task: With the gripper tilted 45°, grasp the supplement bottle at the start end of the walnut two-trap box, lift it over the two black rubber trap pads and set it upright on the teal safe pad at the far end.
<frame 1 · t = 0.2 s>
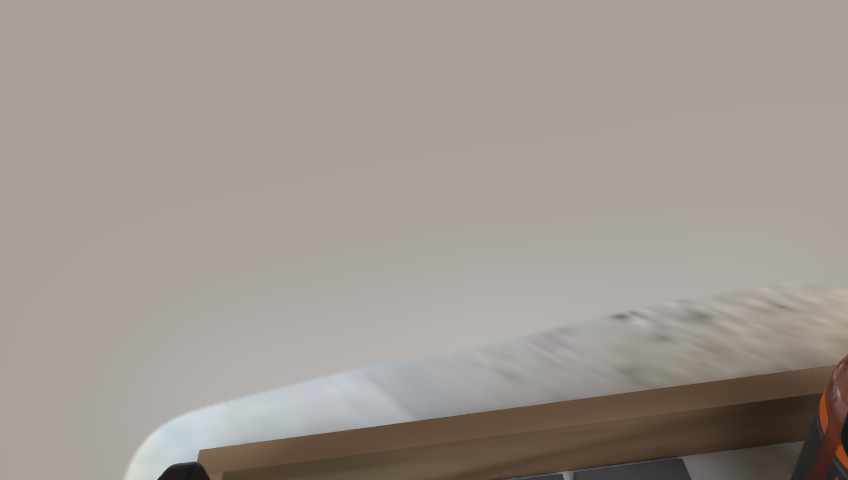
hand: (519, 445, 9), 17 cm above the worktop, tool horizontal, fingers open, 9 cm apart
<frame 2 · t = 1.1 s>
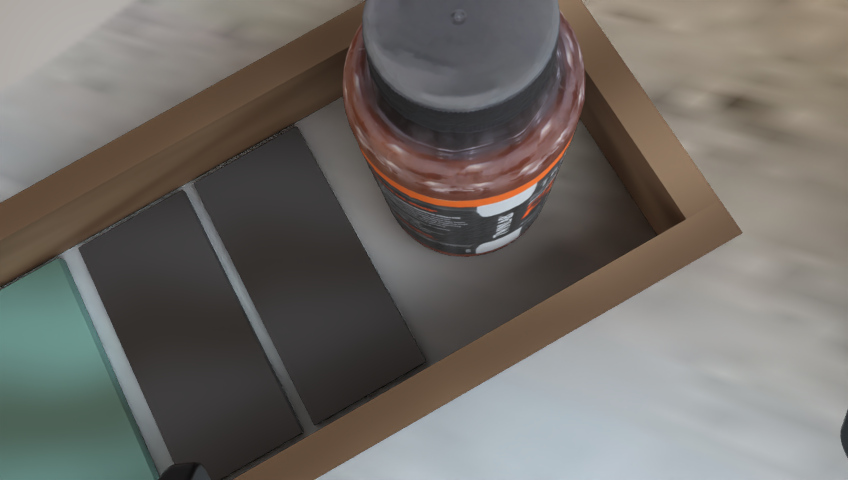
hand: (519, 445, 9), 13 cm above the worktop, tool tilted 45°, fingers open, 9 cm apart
supplement bottle: (466, 181, 24), resting in two trap box
two trap box: (251, 301, 23), on the worktop
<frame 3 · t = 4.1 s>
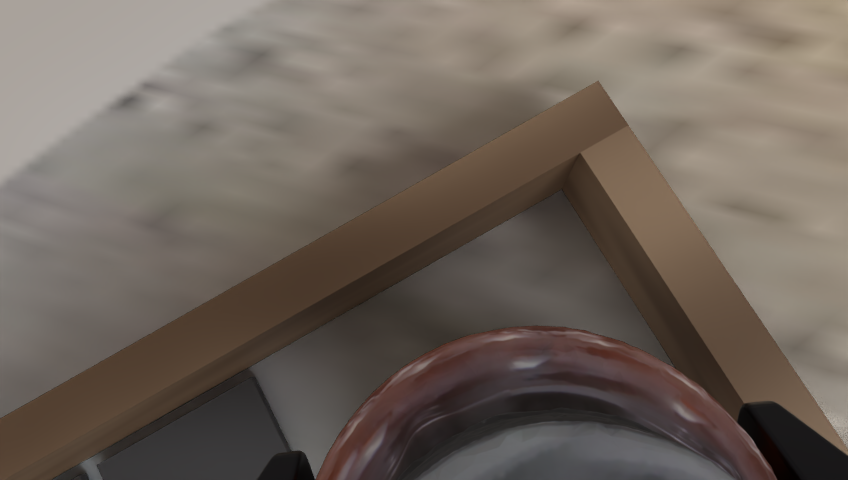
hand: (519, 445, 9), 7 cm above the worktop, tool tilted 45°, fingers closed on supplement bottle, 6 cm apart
supplement bottle: (506, 466, 16), resting in two trap box, touching gripper
when the fingers open (8 cm above the worktop, at t = 9.2 s): supplement bottle stays where it is, resting on two trap box.
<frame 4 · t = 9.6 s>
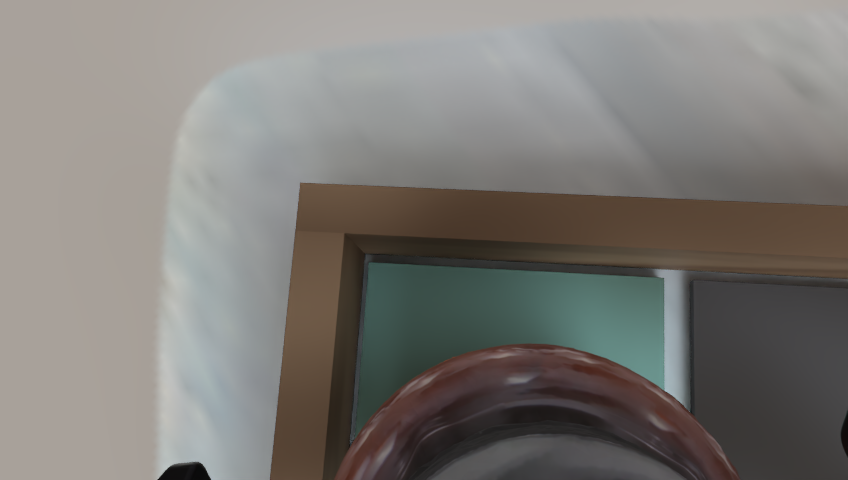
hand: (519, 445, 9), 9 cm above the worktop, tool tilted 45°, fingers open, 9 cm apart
supplement bottle: (506, 466, 17), resting on two trap box
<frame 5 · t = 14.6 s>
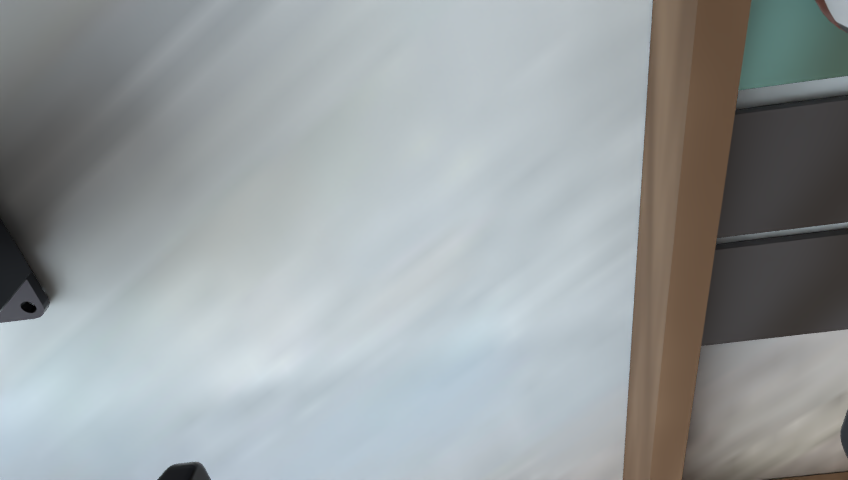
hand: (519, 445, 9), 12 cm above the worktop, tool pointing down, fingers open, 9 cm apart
two trap box: (832, 228, 22), on the worktop
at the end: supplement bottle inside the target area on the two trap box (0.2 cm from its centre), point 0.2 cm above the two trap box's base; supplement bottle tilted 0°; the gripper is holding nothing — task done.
